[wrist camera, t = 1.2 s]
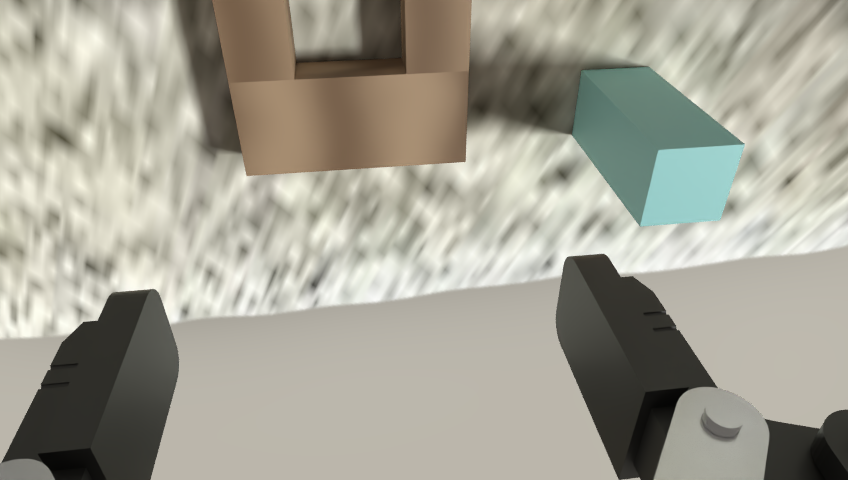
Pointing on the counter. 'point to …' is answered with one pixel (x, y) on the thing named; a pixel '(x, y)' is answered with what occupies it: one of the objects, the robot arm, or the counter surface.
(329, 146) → the board
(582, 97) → the square peg
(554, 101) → the counter surface
